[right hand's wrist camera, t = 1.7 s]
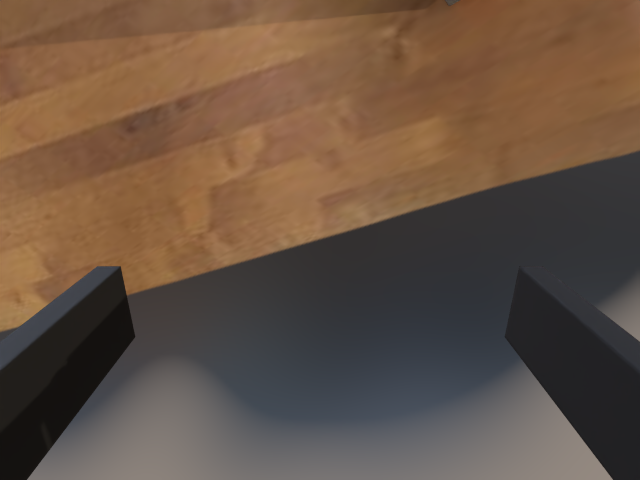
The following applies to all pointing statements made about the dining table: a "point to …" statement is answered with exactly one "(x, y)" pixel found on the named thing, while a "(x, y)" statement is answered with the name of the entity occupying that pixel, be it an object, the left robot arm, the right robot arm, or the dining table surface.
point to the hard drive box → (451, 2)
